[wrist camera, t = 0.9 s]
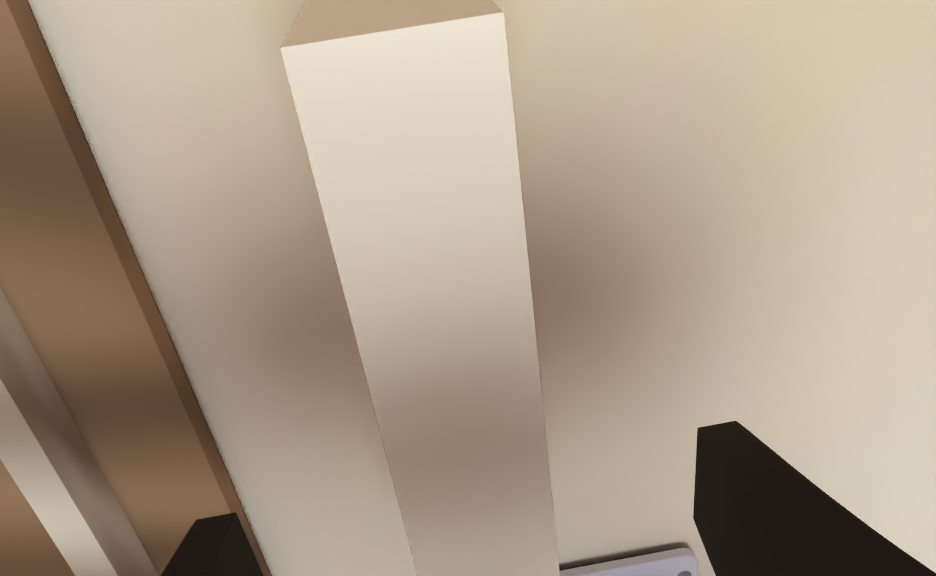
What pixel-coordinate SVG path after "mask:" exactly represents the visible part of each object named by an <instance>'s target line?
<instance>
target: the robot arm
mask: <svg viewBox="0 0 936 576" xmlns="http://www.w3.org/2000/svg"><path fill="white" fill-rule="evenodd" d="M693 519H694V521H695V524H696V526H697V529H698V532H699V534H700V537H701V539H702V542H703V545H704V547H705V550H706V552H707V555H708V557H709V560H710V562H711V565H712V567H713V570H714V572H715V574H716V576H936V573H935V572H933V571H932V570H930V569H929V568H927V567H926V566H924V565H923V564H921V563H920V562H919V561H917V560H916V559H914V558H913V557H911V556H910V555H908V554H907V553H906V552H904V551H903V550H901V549H900V548H898V547H897V546H895V545H894V544H893V543H891V542H890V541H889V540H887V539H886V538H884V537H883V536H882V535H880V534H879V533H878V532H876V531H875V530H873V529H872V528H871V527H869V526H868V525H867V524H865V523H864V522H863V521H861V520H860V519H859V518H857V517H856V516H855V515H854V514H852V513H851V512H850V511H848V510H847V509H846V508H844V507H843V506H842V505H840V504H839V503H838V502H836V501H835V500H834V499H832V498H831V497H830V496H829V495H827V494H826V493H825V492H823V491H822V490H821V489H820V488H818V487H817V486H816V485H815V484H813V483H812V482H811V481H810V480H808V479H807V478H806V477H805V476H803V475H802V474H801V473H800V472H798V471H797V470H796V469H795V468H793V467H792V466H791V465H790V464H788V463H787V462H786V461H785V460H784V459H782V458H781V457H780V456H779V455H778V454H776V453H775V452H774V451H773V450H771V449H770V448H769V447H768V446H767V445H765V444H764V443H763V442H762V441H761V440H759V439H758V438H757V437H756V436H754V435H753V434H752V433H751V432H750V431H748V430H747V429H746V428H745V427H743V426H742V425H741V424H740V423H738V422H737V421H733V422H727V423H722V424H716V425H711V426H705V427H700V428H698V433H697V454H696V474H695V495H694V515H693ZM697 571H698V561H697V558H696V556H695V554H694V552H693V551H692V550H691V549H688V548H678V549H673V550H667V551H662V552H657V553H651V554H646V555H641V556H635V557H630V558H625V559H619V560H614V561H609V562H604V563H598V564H593V565H588V566H582V567H577V568H572V569H566V570H561V571H560V576H697ZM160 576H264V575H263V573H262V571H261V568H260V566H259V564H258V562H257V559H256V557H255V555H254V552H253V550H252V548H251V546H250V543H249V541H248V539H247V536H246V534H245V532H244V529H243V527H242V525H241V523H240V520H239V518H238V516H237V513H236V512H235V513H230V514H224V515H219V516H213V517H208V518H202V519H197V520H196V521H195V522H194V523H193V525H192V526H191V527H190V529H189V531H188V532H187V534H186V535H185V537H184V538H183V540H182V542H181V543H180V545H179V546H178V548H177V549H176V551H175V553H174V554H173V556H172V557H171V559H170V561H169V562H168V564H167V565H166V567H165V569H164V570H163V572H162V573H161V575H160Z"/></svg>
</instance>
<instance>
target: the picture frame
mask: <svg viewBox="0 0 936 576" xmlns="http://www.w3.org/2000/svg"><path fill="white" fill-rule="evenodd" d="M235 512H236V513H237V516H238V518H239V520H240V523H241V525H242V527H243V529H244V532H245V534H246V536H247V539H248V541H249V543H250V546H251V548H252V550H253V552H254V555H255V557H256V559H257V562H258V564H259V566H260V568H261V571H262V573H263V575H264V576H271V574H270V572H269V570H268V567H267V565H266V563H265V560H264V558H263V555H262V553H261V551H260V548H259V546H258V544H257V541H256V539H255V537H254V534H253V532H252V530H251V527H250V525H249V523H248V520H247V518H246V515H245V513H244V511H243V508H242V506H241V504H240V501H239V499H238V497H237V494H236V492H235V490H234V487H233V485H232V482H231V480H230V478H229V475H228V473H227V471H226V468H225V466H224V464H223V461H222V459H221V457H220V454H219V452H218V450H217V447H216V445H215V442H214V440H213V438H212V435H211V433H210V431H209V428H208V426H207V424H206V421H205V419H204V417H203V414H202V412H201V409H200V407H199V405H198V402H197V400H196V398H195V395H194V393H193V391H192V388H191V386H190V384H189V381H188V379H187V377H186V374H185V372H184V369H183V367H182V365H181V362H180V360H179V358H178V355H177V353H176V351H175V348H174V346H173V344H172V341H171V339H170V336H169V334H168V332H167V329H166V327H165V325H164V322H163V320H162V318H161V315H160V313H159V311H158V308H157V306H156V304H155V301H154V299H153V296H152V294H151V292H150V289H149V287H148V285H147V282H146V280H145V278H144V275H143V273H142V271H141V268H140V266H139V263H138V261H137V259H136V256H135V254H134V252H133V249H132V247H131V245H130V242H129V240H128V238H127V235H126V233H125V230H124V228H123V226H122V223H121V221H120V219H119V216H118V214H117V212H116V209H115V207H114V205H113V202H112V200H111V198H110V195H109V193H108V190H107V188H106V186H105V183H104V181H103V179H102V176H101V174H100V172H99V169H98V167H97V165H96V162H95V160H94V157H93V155H92V153H91V150H90V148H89V146H88V143H87V141H86V139H85V136H84V134H83V132H82V129H81V127H80V125H79V122H78V120H77V117H76V115H75V113H74V110H73V108H72V106H71V103H70V101H69V99H68V96H67V94H66V92H65V89H64V87H63V84H62V82H61V80H60V77H59V75H58V73H57V70H56V68H55V66H54V63H53V61H52V59H51V56H50V54H49V52H48V49H47V47H46V44H45V42H44V40H43V37H42V35H41V33H40V30H39V28H38V26H37V23H36V21H35V19H34V16H33V14H32V11H31V9H30V7H29V4H28V2H27V0H0V576H160V575H161V573H162V572H163V570H164V569H165V567H166V565H167V564H168V562H169V561H170V559H171V557H172V556H173V554H174V553H175V551H176V549H177V548H178V546H179V545H180V543H181V542H182V540H183V538H184V537H185V535H186V534H187V532H188V531H189V529H190V527H191V526H192V525H193V523H194V522H195V521H196V520H197V519H202V518H208V517H213V516H219V515H224V514H230V513H235Z"/></svg>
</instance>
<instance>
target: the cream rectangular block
mask: <svg viewBox="0 0 936 576" xmlns="http://www.w3.org/2000/svg"><path fill="white" fill-rule="evenodd" d="M280 49H281V53H282V57H283V61H284V65H285V69H286V72H287V76H288V80H289V84H290V88H291V92H292V95H293V99H294V103H295V107H296V111H297V115H298V118H299V122H300V126H301V130H302V134H303V138H304V142H305V145H306V149H307V153H308V157H309V161H310V165H311V168H312V172H313V176H314V180H315V184H316V188H317V191H318V195H319V199H320V203H321V207H322V211H323V215H324V218H325V222H326V226H327V230H328V234H329V238H330V241H331V245H332V249H333V253H334V257H335V261H336V264H337V268H338V272H339V276H340V280H341V284H342V287H343V291H344V295H345V299H346V303H347V307H348V311H349V314H350V318H351V322H352V326H353V330H354V334H355V337H356V341H357V345H358V349H359V353H360V357H361V360H362V364H363V368H364V372H365V376H366V380H367V384H368V387H369V391H370V395H371V399H372V403H373V407H374V410H375V414H376V418H377V422H378V426H379V430H380V433H381V437H382V441H383V445H384V449H385V453H386V456H387V460H388V464H389V468H390V472H391V476H392V480H393V483H394V487H395V491H396V495H397V499H398V503H399V506H400V510H401V514H402V518H403V522H404V526H405V529H406V533H407V537H408V541H409V545H410V549H411V553H412V556H413V560H414V564H415V568H416V572H417V576H560V571H559V561H558V551H557V541H556V531H555V521H554V511H553V501H552V491H551V481H550V471H549V461H548V451H547V441H546V431H545V421H544V411H543V401H542V391H541V381H540V371H539V361H538V351H537V341H536V331H535V321H534V311H533V301H532V291H531V281H530V271H529V261H528V251H527V241H526V231H525V221H524V211H523V201H522V191H521V181H520V171H519V161H518V151H517V141H516V131H515V121H514V111H513V101H512V91H511V81H510V71H509V61H508V51H507V41H506V31H505V21H504V12H503V11H502V10H501V9H500V8H499V7H498V6H497V5H496V4H495V3H494V2H493V1H492V0H307V1H306V3H305V5H304V6H303V8H302V10H301V12H300V14H299V15H298V17H297V19H296V21H295V22H294V24H293V26H292V28H291V30H290V31H289V33H288V35H287V37H286V38H285V40H284V42H283V44H282V46H281V47H280Z"/></svg>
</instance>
